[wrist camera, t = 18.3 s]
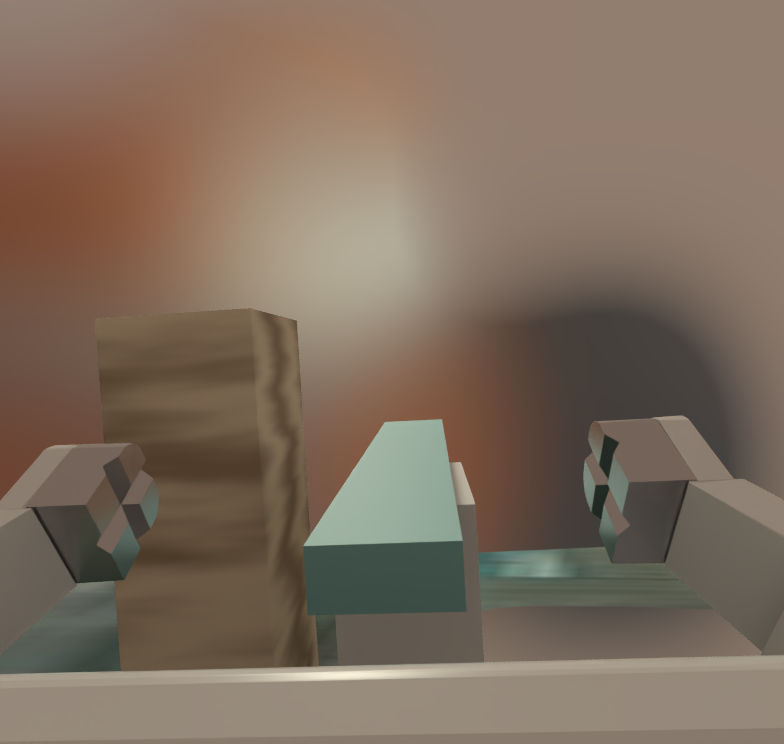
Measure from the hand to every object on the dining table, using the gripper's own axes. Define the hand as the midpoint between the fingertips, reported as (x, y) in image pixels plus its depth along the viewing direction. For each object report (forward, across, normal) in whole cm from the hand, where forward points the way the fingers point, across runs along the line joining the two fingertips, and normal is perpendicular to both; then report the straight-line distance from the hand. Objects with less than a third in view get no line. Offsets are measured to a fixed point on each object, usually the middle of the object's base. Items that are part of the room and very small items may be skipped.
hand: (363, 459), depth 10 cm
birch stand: (+8, -11, -30) cm, 33 cm away
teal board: (+14, 0, -14) cm, 20 cm away
